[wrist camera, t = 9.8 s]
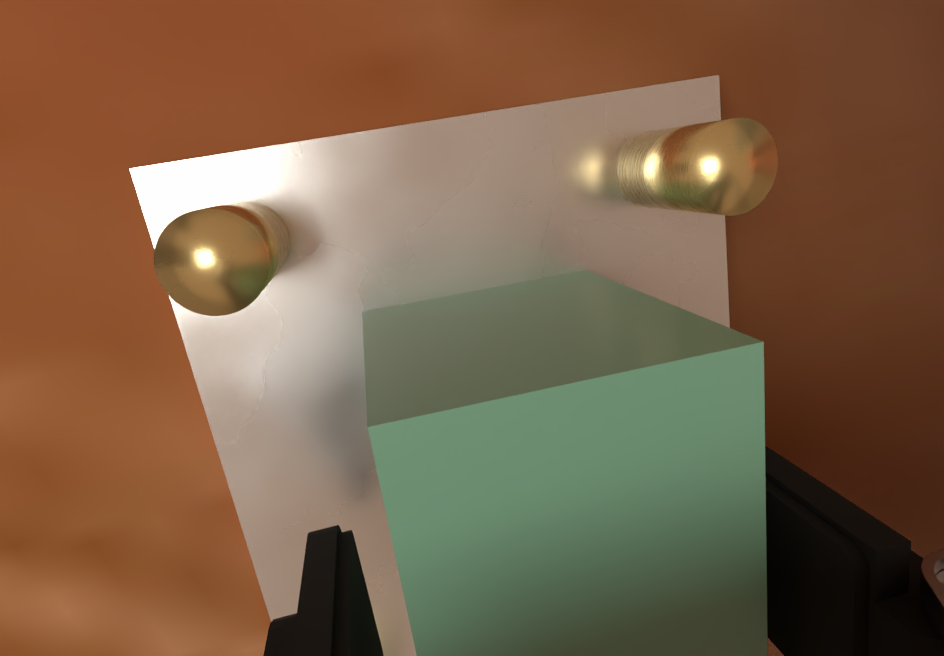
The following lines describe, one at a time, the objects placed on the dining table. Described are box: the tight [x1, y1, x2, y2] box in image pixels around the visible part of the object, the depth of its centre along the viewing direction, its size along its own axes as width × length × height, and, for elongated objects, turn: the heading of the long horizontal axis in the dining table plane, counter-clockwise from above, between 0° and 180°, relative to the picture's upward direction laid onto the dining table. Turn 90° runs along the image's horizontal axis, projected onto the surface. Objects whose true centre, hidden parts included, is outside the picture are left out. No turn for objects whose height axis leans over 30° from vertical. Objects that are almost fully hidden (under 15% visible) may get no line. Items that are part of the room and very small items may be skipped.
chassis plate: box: [130, 75, 778, 656], centre depth 13 cm, size 16×12×4 cm
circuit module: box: [362, 270, 768, 656], centre depth 11 cm, size 9×5×6 cm, turn 9°
